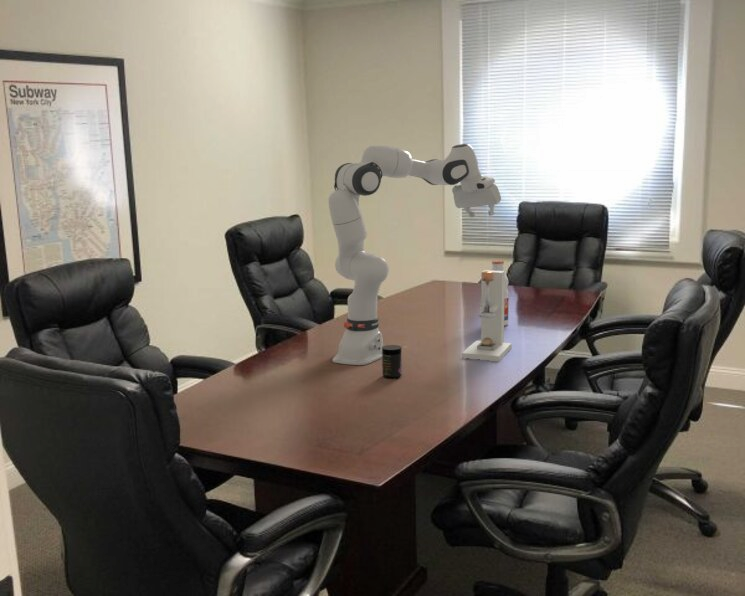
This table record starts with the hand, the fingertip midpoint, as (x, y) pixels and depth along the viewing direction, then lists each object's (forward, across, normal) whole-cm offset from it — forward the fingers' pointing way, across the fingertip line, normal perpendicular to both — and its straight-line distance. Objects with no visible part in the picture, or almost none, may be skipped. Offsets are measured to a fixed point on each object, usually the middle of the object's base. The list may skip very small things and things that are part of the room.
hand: (482, 215), depth 318 cm
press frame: (+42, +10, -35) cm, 56 cm away
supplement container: (+27, +3, -78) cm, 82 cm away
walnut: (+38, +11, -34) cm, 52 cm away
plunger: (+29, +12, -31) cm, 44 cm away
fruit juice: (+53, -13, +6) cm, 55 cm away
